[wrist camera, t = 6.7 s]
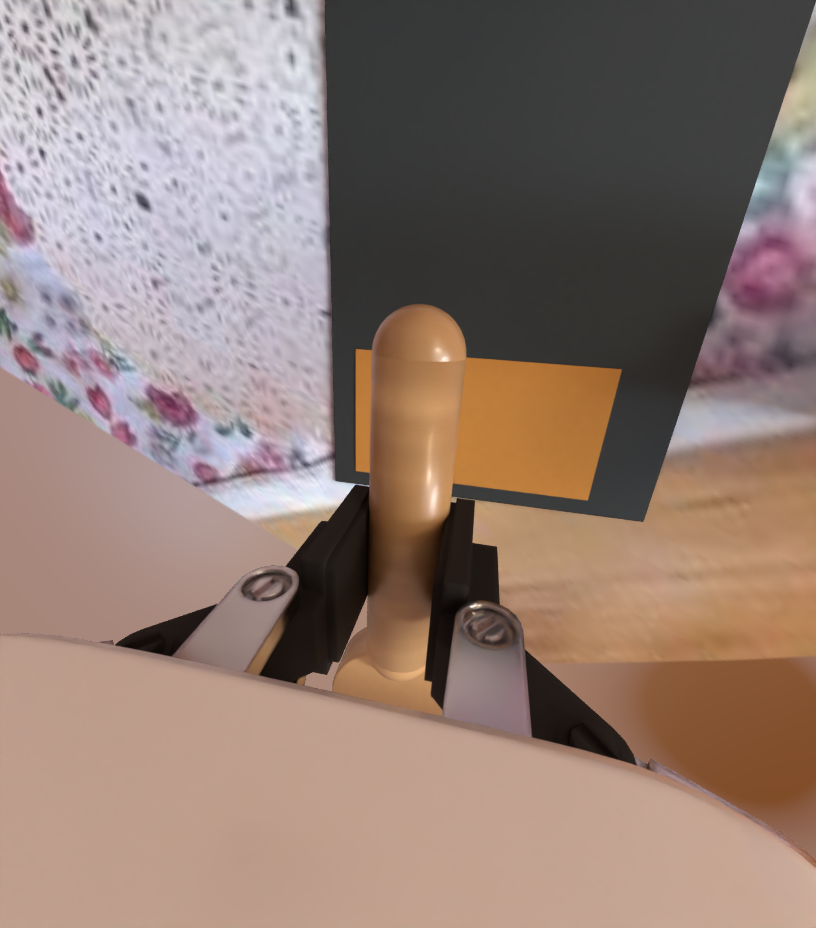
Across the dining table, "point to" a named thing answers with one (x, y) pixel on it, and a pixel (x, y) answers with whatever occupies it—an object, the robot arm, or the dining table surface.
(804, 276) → the dining table surface
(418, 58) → the mat
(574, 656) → the dining table surface
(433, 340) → the wooden rod with disc
